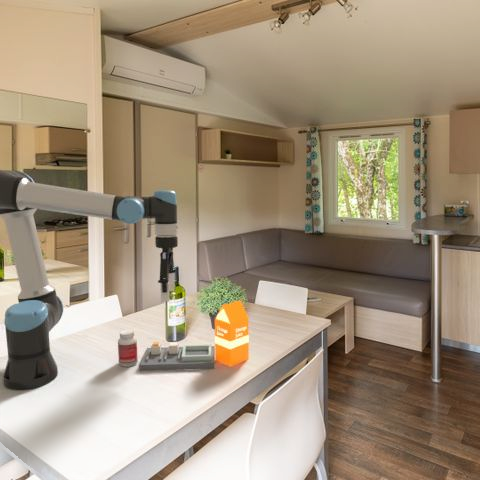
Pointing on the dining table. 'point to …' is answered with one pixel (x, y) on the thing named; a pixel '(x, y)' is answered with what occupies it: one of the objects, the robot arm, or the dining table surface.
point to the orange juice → (232, 334)
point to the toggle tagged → (155, 348)
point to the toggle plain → (173, 348)
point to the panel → (180, 358)
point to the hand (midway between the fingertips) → (167, 295)
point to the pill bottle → (127, 348)
